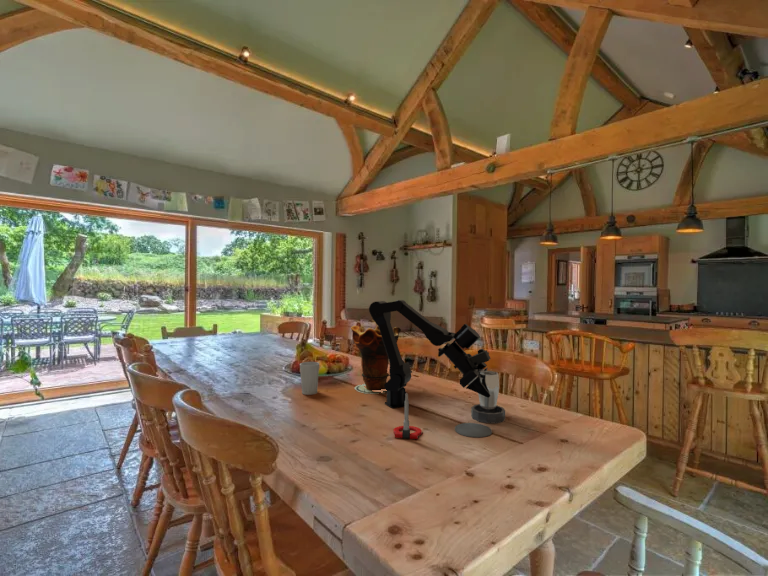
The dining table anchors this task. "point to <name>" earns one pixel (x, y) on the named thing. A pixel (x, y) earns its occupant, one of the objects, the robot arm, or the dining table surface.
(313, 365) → the cup
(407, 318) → the robot arm
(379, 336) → the decorative vase
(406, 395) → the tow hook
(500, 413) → the ring holder
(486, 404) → the beer glass
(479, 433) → the coaster
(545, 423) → the dining table surface
